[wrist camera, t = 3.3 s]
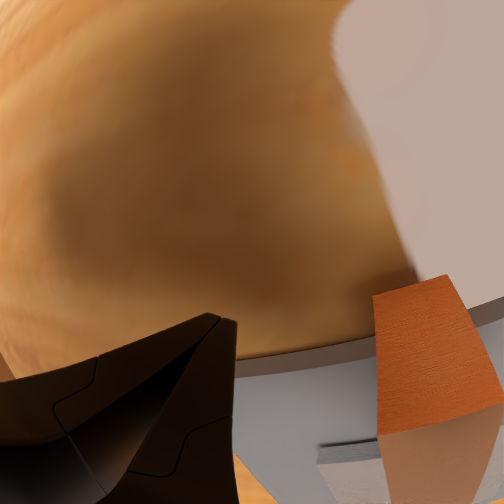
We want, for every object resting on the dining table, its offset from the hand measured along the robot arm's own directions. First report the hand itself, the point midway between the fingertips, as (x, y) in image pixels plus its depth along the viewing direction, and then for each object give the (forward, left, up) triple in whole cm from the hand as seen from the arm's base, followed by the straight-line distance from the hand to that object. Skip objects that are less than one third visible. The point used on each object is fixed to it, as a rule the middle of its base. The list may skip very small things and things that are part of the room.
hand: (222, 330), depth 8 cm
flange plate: (+5, -10, -2) cm, 11 cm away
